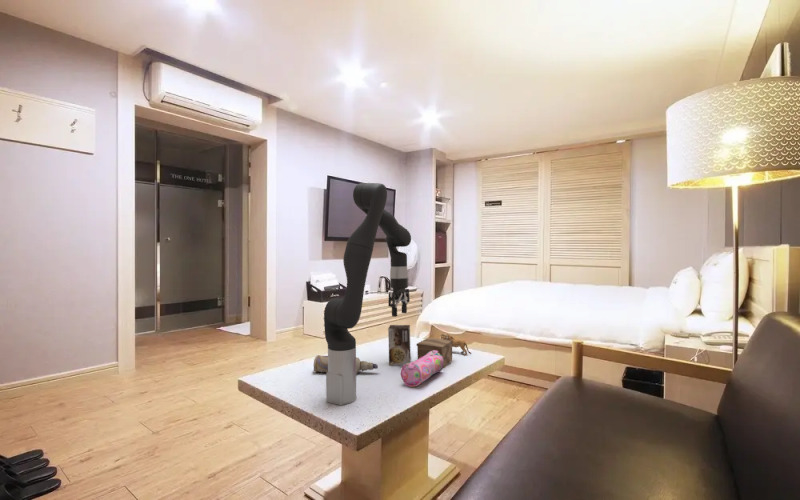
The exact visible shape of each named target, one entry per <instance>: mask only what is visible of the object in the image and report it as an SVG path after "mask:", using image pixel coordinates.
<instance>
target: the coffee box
mask: <svg viewBox="0 0 800 500" xmlns="http://www.w3.org/2000/svg"><path fill="white" fill-rule="evenodd" d="M387 331H388V335H387V336H388V366H390V367H392V366H393V367H396V366H397V367H403V365H405V364H407V363H410V362H412V357H411V356H412V355H411V352H412V351H411V325H410V324H390V325H389V326H388V328H387Z"/></svg>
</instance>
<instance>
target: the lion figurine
mask: <svg viewBox="0 0 800 500" xmlns="http://www.w3.org/2000/svg"><path fill="white" fill-rule="evenodd" d="M440 339H447V340H453V342H452V348H459V347H460V349H461V350H462V351H461V352H460V353H461V354H463V355H464V356H468V354H470V355H472V352H470V350H469V348H468V344H467V342H466V341H465V340H463V339H455V338H454V337H453V336H452V335H449V334H448V333H443V332H442V334H440Z"/></svg>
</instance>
